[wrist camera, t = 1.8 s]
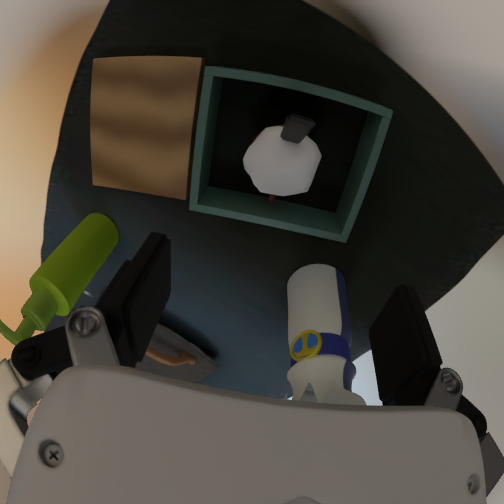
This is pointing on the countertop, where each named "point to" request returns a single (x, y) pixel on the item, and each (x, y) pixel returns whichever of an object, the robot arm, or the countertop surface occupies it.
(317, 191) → the countertop surface
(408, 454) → the robot arm
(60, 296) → the soap dispenser
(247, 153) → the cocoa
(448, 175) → the countertop surface
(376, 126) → the crate
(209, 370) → the serving tray
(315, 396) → the water bottle
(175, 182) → the cutting board
